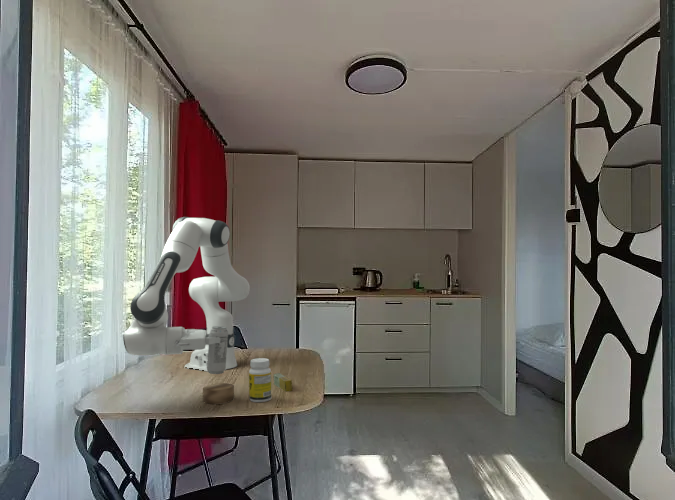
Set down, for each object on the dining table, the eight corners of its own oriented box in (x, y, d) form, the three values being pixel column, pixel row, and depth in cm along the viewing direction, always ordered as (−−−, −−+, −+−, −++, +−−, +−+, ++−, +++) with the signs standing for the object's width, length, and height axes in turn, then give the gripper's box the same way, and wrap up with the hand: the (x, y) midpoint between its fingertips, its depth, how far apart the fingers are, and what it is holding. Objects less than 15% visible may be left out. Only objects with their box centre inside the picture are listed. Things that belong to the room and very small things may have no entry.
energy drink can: (219, 369, 161) (223, 325, 162) (228, 373, 157) (231, 328, 158) (203, 371, 157) (206, 326, 158) (211, 375, 153) (215, 328, 154)
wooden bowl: (196, 402, 152) (196, 389, 152) (214, 394, 161) (214, 381, 161) (222, 405, 148) (222, 391, 148) (240, 396, 158) (240, 383, 158)
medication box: (273, 384, 173) (273, 373, 173) (280, 383, 175) (279, 372, 175) (285, 392, 163) (285, 380, 163) (292, 391, 164) (292, 379, 164)
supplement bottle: (250, 396, 157) (249, 357, 158) (272, 395, 158) (271, 357, 158) (248, 403, 150) (247, 362, 150) (271, 402, 151) (270, 361, 151)
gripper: (173, 335, 145) (220, 333, 148) (179, 327, 165) (220, 325, 168) (173, 355, 145) (220, 353, 148) (179, 345, 165) (220, 343, 168)
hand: (220, 338), depth 158 cm, fingers closed on energy drink can, 5 cm apart
